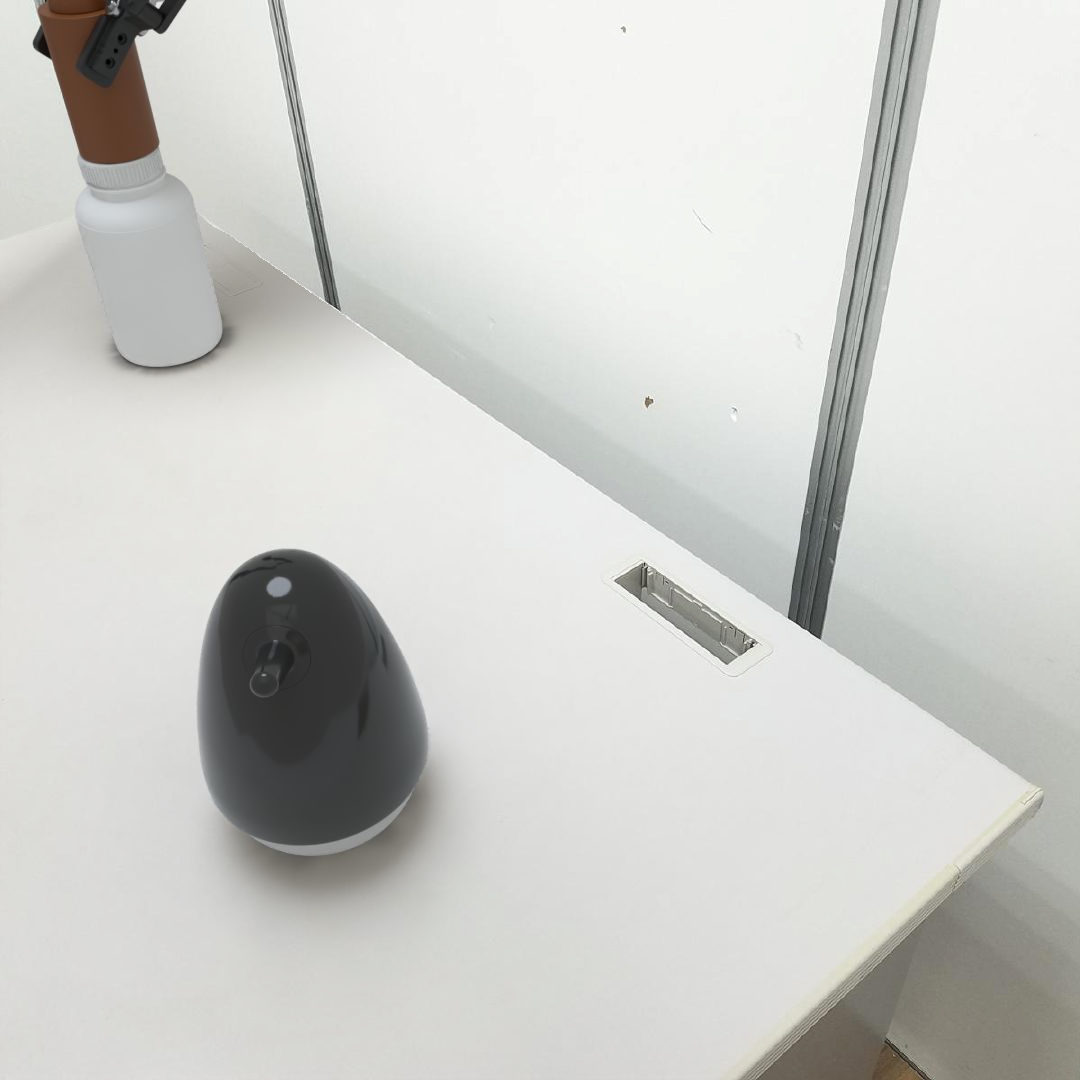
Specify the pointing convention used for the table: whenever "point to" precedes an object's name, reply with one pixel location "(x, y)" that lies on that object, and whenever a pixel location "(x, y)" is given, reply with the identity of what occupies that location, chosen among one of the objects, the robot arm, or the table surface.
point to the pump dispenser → (306, 707)
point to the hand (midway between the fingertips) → (69, 67)
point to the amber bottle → (98, 88)
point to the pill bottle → (148, 261)
